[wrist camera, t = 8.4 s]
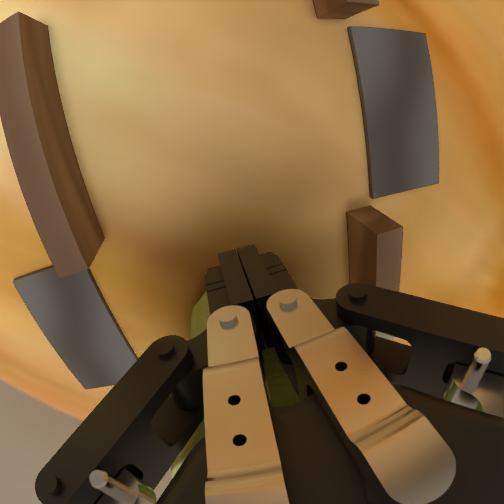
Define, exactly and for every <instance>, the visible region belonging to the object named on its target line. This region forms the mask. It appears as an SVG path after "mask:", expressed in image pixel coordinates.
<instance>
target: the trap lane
mask: <svg viewBox="0 0 504 504" xmlns="http://www.w3.org/2000/svg"><path fill="white" fill-rule="evenodd" d="M313 3H314V7H315V11H316V15H317V18H340V19H346V18H348V17H350V16H353V15H355V14H357V13H360V12H362V11H365V10H367V9H370V8H372V7H375V6H378V5H379V2H378V0H313ZM348 32H349V37H350V42H351V46H352V51H353V57H354V62H355V67H356V73H357V79H358V85H359V91H360V98H361V105H362V112H363V120H364V129H365V138H366V148H367V159H368V171H369V186H370V197H371V198H372V199H374V198H378V197H383V196H387V195H391V194H395V193H399V192H404V191H408V190H412V189H416V188H421V187H425V186H429V185H434V184H438V183H439V143H438V123H437V110H436V99H435V90H434V82H433V74H432V67H431V61H430V55H429V49H428V44H427V39H426V34H425V33H418V32H411V31H403V30H395V29H384V28H372V27H352V26H350V27H348ZM0 116H1V121H2V125H3V129H4V133H5V137H6V141H7V145H8V149H9V152H10V156H11V159H12V163H13V166H14V169H15V172H16V175H17V178H18V181H19V184H20V187H21V190H22V193H23V196H24V199H25V201H26V204H27V207H28V209H29V212H30V214H31V217H32V219H33V222H34V224H35V227H36V229H37V231H38V234H39V236H40V238H41V241H42V243H43V245H44V247H45V250H46V252H47V254H48V256H49V258H50V260H51V262H52V264H53V266H50V267H47V268H44V269H42V270H39V271H36V272H33V273H30V274H27V275H24V276H22V277H19V278H16V279H14V281H13V283H14V285H15V287H16V289H17V291H18V293H19V294H20V296H21V298H22V300H23V301H24V303H25V305H26V306H27V308H28V310H29V311H30V313H31V315H32V316H33V318H34V319H35V321H36V323H37V324H38V326H39V327H40V329H41V330H42V332H43V333H44V335H45V336H46V338H47V339H48V341H49V342H50V344H51V345H52V346H53V348H54V349H55V351H56V352H57V353H58V355H59V356H60V358H61V359H62V360H63V362H64V363H65V364H66V366H67V367H68V368H69V369H70V371H71V372H72V373H73V375H74V376H75V377H76V378H77V380H78V381H79V382H80V383H81V385H82V386H83V387H84V388H85V389H91V388H98V387H104V386H111V385H116V384H117V382H118V381H119V380H120V379H121V378H122V377H123V376H124V374H125V373H126V372H127V371H128V370H129V369H130V368H131V367H132V365H133V364H134V363H135V362H136V361H137V360H138V358H137V356H136V355H135V353H134V351H133V350H132V348H131V346H130V345H129V343H128V341H127V340H126V338H125V336H124V335H123V333H122V331H121V329H120V328H119V326H118V324H117V322H116V320H115V319H114V317H113V315H112V313H111V311H110V310H109V308H108V306H107V304H106V302H105V300H104V298H103V296H102V294H101V292H100V290H99V288H98V286H97V284H96V282H95V280H94V278H93V276H92V274H91V272H90V270H89V267H90V265H91V263H92V261H93V259H94V257H95V255H96V254H97V252H98V250H99V248H100V246H101V244H102V242H103V240H104V239H105V238H104V236H103V233H102V231H101V228H100V226H99V223H98V220H97V218H96V215H95V213H94V210H93V207H92V204H91V202H90V199H89V196H88V193H87V190H86V187H85V184H84V181H83V178H82V175H81V172H80V169H79V166H78V163H77V160H76V156H75V153H74V150H73V146H72V143H71V139H70V136H69V132H68V128H67V124H66V120H65V117H64V112H63V108H62V104H61V100H60V95H59V91H58V86H57V81H56V76H55V71H54V66H53V60H52V54H51V47H50V41H49V33H48V26H47V25H45V24H43V23H41V22H39V21H37V20H35V19H33V18H31V17H29V16H27V15H25V14H23V13H20V12H17V13H15V14H14V15H12V16H10V17H9V18H7V19H6V20H4V21H3V22H1V23H0ZM347 226H348V244H349V269H350V284H351V283H365V284H369V285H373V286H377V287H381V288H385V289H389V290H393V291H397V292H399V284H400V272H401V258H402V240H403V227H402V226H401V225H399V224H398V223H396V222H395V221H393V220H392V219H390V218H389V217H387V216H386V215H384V214H383V213H381V212H380V211H378V210H376V209H375V208H373V207H372V206H368V207H364V208H360V209H356V210H352V211H348V212H347ZM376 336H378V337H381V338H385V339H388V340H391V341H392V340H393V336H391V335H388V334H385V333H381V332H378V331H376ZM161 406H162V405H161ZM179 455H180V454H179ZM179 455H178V456H179Z"/></svg>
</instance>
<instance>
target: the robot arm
mask: <svg viewBox="0 0 504 504" xmlns="http://www.w3.org/2000/svg"><path fill="white" fill-rule="evenodd" d="M237 253H238V256H237ZM237 253H236V250H235V249H234V250H230V251H227V252H223V253H219V254H218V256H219V260H220V264H221V266H218V267H214V268H210V269H208V271H207V273H206V275H205V277H204V278H205V285H206V291H207V298H208V305H209V311H210V316H209V318H208V320H207V328H206V329H205V330H204V331H203V332H202V333H201V334H199V335H198V336H196V337H194V338H192V339H190V340H189V341H187V342H186V340H185V339H184V338H182V337H180V336H176V335H170V336H165V337H162V338H160V339H158V340H156V341H155V342H153V343H152V344H151V345H150V346H149V347H148V349H147V350H146V351H145V352H144V353H143V354H142V355H141V356H140V358H139V359H138V360H137V361H136V362H135V363H134V364H133V365H132V367H131V368H130V369H129V370H128V371H127V372H126V373H125V374H124V376H123V377H122V378H121V379H120V380H119V381H118V382H117V384H116V385H115V386H114V387H113V388H112V389H111V390H110V391H109V393H108V394H107V395H106V396H105V397H104V398H103V399H102V401H101V402H100V403H99V404H98V405H97V406H96V407H95V409H94V410H93V411H92V412H91V413H90V414H89V415H88V417H87V418H86V419H85V420H84V421H83V422H82V423H81V425H80V426H79V427H78V428H77V429H76V431H75V432H74V433H73V434H72V435H71V436H70V437H69V438H68V440H67V441H66V442H65V443H64V444H63V445H62V447H61V448H60V449H59V450H58V451H57V453H56V454H55V455H54V456H53V457H52V458H51V459H50V461H49V462H48V463H47V464H46V465H45V467H44V468H43V469H42V470H41V471H40V473H39V474H38V476H37V479H36V482H35V490H36V494H37V497H38V499H39V500H40V501H41V502H42V503H43V504H504V318H500V317H496V316H492V315H488V314H484V313H480V312H476V311H472V310H468V309H464V308H460V307H456V306H452V305H448V304H444V303H440V302H436V301H432V300H428V299H424V298H421V297H417V296H413V295H409V294H405V293H401V292H397V291H393V290H389V289H385V288H381V287H377V286H373V285H369V284H365V283H351V284H348V285H345V286H343V287H342V288H340V289H339V290H338V292H337V294H336V298H335V299H324V300H317V299H311V298H310V297H309V296H308V294H307V293H305V292H304V291H301V290H298V288H297V287H296V285H295V283H294V282H293V280H292V278H291V277H290V275H289V273H288V272H287V271H286V268H285V267H284V265H283V263H282V262H281V260H280V259H279V257H278V256H276V255H274V254H272V253H271V252H268V253H265V254H261V255H259V253H258V251H257V249H256V247H255V245H254V244H252V245H248V246H245V247H241V248H237ZM238 257H239V258H238ZM261 331H262V332H261ZM376 331H378V332H381V333H385V334H388V335H391V336H395V337H398V338H401V339H404V340H406V341H408V342H409V343H410V344H411V346H408V345H404V344H401V343H398V342H394V341H391V340H388V339H385V338H381V337H378V336H376ZM262 334H263V336H262ZM263 337H264V340H265V342H266V345H267V348H271V347H274V348H275V351H276V353H277V358H278V361H279V363H280V365H281V367H282V369H283V371H284V372H285V373H286V375H287V377H288V379H289V381H290V383H291V385H292V386H293V388H294V390H295V392H296V394H297V396H298V398H299V400H300V402H298V403H296V404H294V405H291V406H281V407H273V406H272V402H271V397H270V393H269V388H268V384H267V379H266V374H265V370H264V358H263V354H262V350H264V349H266V348H265V344H264V340H263ZM161 405H162V406H161ZM203 419H204V421H205V437H204V438H202V439H201V440H200V441H199V442H198V443H197V444H196V445H195V446H194V447H193V448H192V450H191V451H190V452H189V454H188V455H187V457H186V458H185V460H184V462H183V463H182V465H181V466H180V468H179V469H178V471H177V472H176V474H175V475H174V477H173V479H172V480H171V482H170V483H169V485H168V486H167V488H166V489H165V491H164V492H163V494H162V495H161V497H160V498H159V500H158V501H157V503H156V495H155V493H154V491H153V490H154V489H155V487H156V486H157V484H158V483H159V482H160V480H161V479H162V478H163V476H164V475H165V474H166V472H167V471H168V469H169V468H170V466H171V465H172V464H173V462H174V461H175V460H176V458H177V457H178V455H179V454H180V452H181V451H182V450H183V448H184V447H185V445H186V444H187V442H188V441H189V439H190V438H191V437H192V435H193V434H194V432H195V431H196V429H197V428H198V426H199V425H200V423H201V422H202V420H203Z"/></svg>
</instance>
